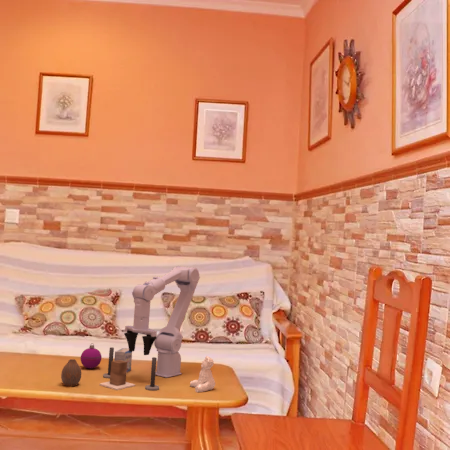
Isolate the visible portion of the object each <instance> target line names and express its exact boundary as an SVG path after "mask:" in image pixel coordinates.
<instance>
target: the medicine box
mask: <svg viewBox="0 0 450 450" xmlns="http://www.w3.org/2000/svg"><path fill="white" fill-rule="evenodd" d="M116 360H122V361H126V362H127V372H126V374H127V373H128V372H130V371H131V370H132V360H133V351H132V352H129V347H128V348H127V347H124V348H120V349H118V350H114V357H113V361H116Z"/></svg>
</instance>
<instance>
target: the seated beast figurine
mask: <svg viewBox="0 0 450 450" xmlns="http://www.w3.org/2000/svg"><path fill="white" fill-rule="evenodd" d="M214 365H215V364H214V359H213V358H212V357H210V356H208V355H206V356H205V357H204V359H203V360H202V361H201V365H200V367H201V368H200V371H199V375H198V379H194V380H191V381H190V383H189V387H191V388H195V389H194V391H195V393H204V392H208V391H211V390H213V389H214V388H215V387H216V381H215V377H214V376H213V373H212V372H213V371H212V370H211V368H212V367H213V366H214Z"/></svg>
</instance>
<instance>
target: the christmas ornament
mask: <svg viewBox="0 0 450 450" xmlns="http://www.w3.org/2000/svg"><path fill="white" fill-rule="evenodd" d="M80 362H81V364H82V366H83V367H85V368H86V369H91V370H92V369H95V368H96V367H98V366H99V365H100V363H101V362H102V353H101V351H100V350H98V349H97V348H95V344H94V343H91V344H90V345H89V347H88V348H86V349H84V350H83V351H82V353H81V355H80Z"/></svg>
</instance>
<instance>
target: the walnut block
mask: <svg viewBox="0 0 450 450" xmlns="http://www.w3.org/2000/svg"><path fill="white" fill-rule="evenodd" d="M126 372H127V362H126V361H122V360H116V361H114V360H113V361H111V373H110V378H109V381H110V384H112V385H116V386H120V385H124V384H126V382H127V373H128V372H127V373H126Z"/></svg>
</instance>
